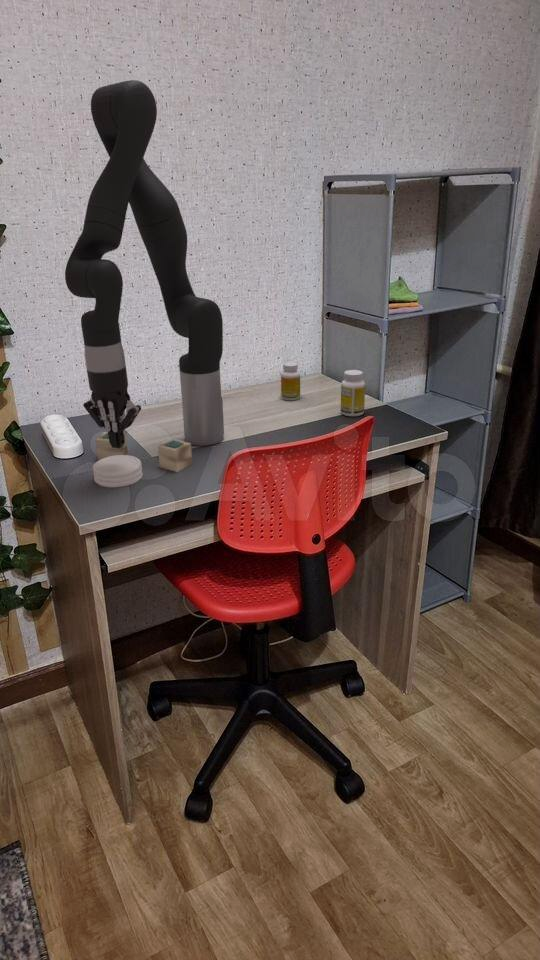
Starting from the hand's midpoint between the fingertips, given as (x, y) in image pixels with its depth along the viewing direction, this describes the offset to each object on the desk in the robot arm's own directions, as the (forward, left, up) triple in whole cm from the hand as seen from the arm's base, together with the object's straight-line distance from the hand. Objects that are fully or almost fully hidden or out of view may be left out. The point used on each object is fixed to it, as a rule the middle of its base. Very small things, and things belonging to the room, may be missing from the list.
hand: (117, 446), depth 139 cm
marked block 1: (-9, -9, -7) cm, 14 cm away
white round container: (0, -1, -7) cm, 7 cm away
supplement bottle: (-63, +12, -7) cm, 64 cm away
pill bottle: (-57, +32, -7) cm, 66 cm away
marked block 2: (-10, +7, -7) cm, 14 cm away
